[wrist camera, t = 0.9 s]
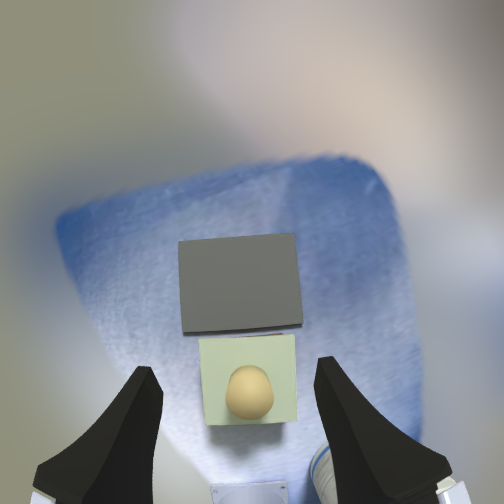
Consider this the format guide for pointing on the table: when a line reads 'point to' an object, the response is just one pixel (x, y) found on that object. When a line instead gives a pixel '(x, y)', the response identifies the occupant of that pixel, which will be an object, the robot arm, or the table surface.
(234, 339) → the lid
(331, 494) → the supplement tub
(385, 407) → the table surface
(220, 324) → the mat
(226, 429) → the table surface
